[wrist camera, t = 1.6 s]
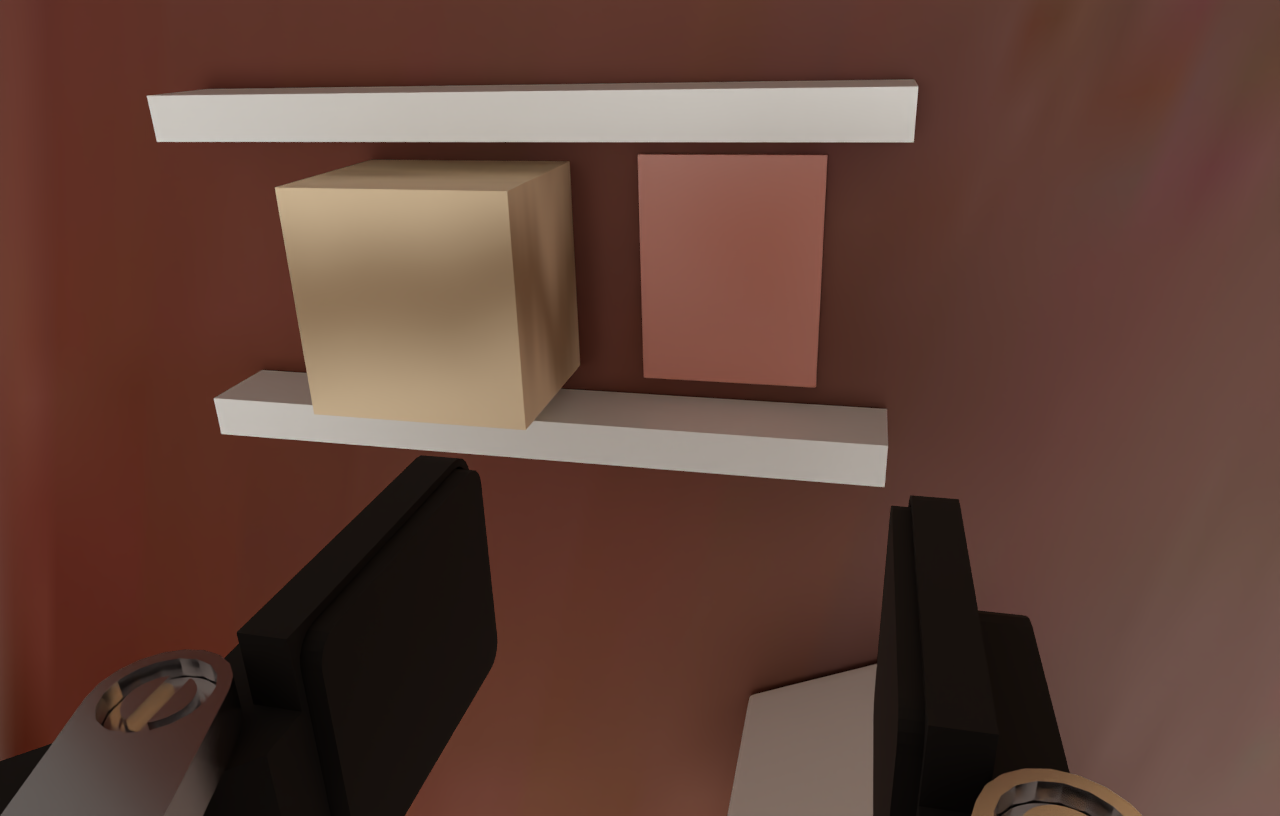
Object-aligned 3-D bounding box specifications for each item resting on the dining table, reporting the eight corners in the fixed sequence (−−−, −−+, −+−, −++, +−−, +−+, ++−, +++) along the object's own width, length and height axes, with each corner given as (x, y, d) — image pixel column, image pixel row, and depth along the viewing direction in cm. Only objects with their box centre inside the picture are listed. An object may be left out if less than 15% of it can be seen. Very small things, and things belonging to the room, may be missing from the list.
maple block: (581, 363, 28) (525, 430, 24) (399, 353, 29) (313, 414, 25) (571, 160, 26) (507, 191, 21) (374, 158, 27) (274, 187, 23)
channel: (883, 447, 27) (884, 487, 24) (268, 403, 31) (221, 433, 29) (913, 79, 23) (918, 86, 21) (206, 88, 27) (146, 95, 25)
